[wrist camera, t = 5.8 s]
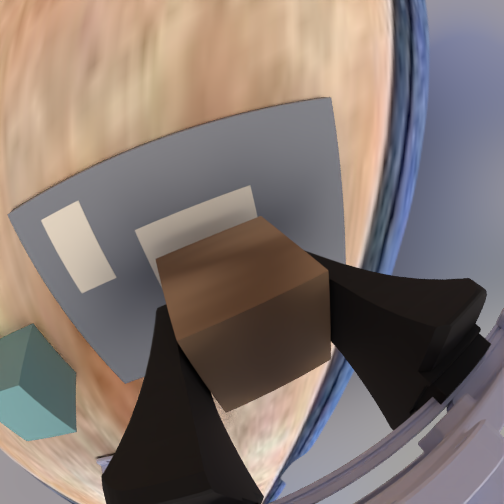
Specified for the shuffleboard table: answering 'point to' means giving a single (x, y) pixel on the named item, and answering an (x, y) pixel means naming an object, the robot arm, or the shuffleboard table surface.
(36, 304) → the shuffleboard table surface
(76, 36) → the shuffleboard table surface
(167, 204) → the board
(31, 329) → the teal block
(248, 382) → the walnut block
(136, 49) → the shuffleboard table surface
